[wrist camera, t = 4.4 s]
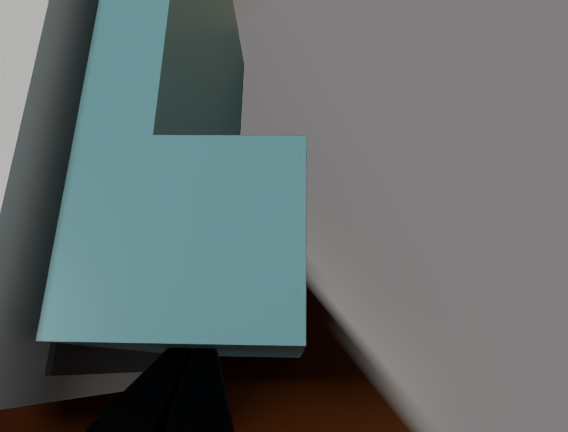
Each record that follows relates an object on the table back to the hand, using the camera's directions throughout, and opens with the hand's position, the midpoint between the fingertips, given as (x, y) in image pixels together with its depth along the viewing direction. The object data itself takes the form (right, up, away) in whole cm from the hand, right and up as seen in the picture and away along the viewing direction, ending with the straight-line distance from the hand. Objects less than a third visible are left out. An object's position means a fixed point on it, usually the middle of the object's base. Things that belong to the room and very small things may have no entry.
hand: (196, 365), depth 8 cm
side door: (0, +3, +8) cm, 9 cm away
